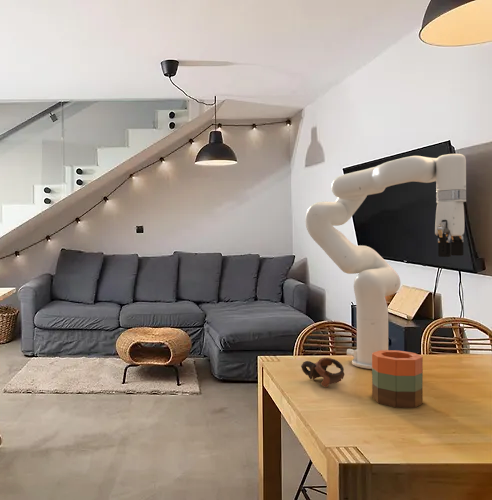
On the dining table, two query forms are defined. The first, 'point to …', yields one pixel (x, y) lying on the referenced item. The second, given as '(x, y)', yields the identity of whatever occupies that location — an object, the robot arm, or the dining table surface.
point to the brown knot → (323, 371)
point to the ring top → (397, 363)
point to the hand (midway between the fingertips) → (451, 256)
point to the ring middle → (397, 382)
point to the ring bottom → (397, 397)
